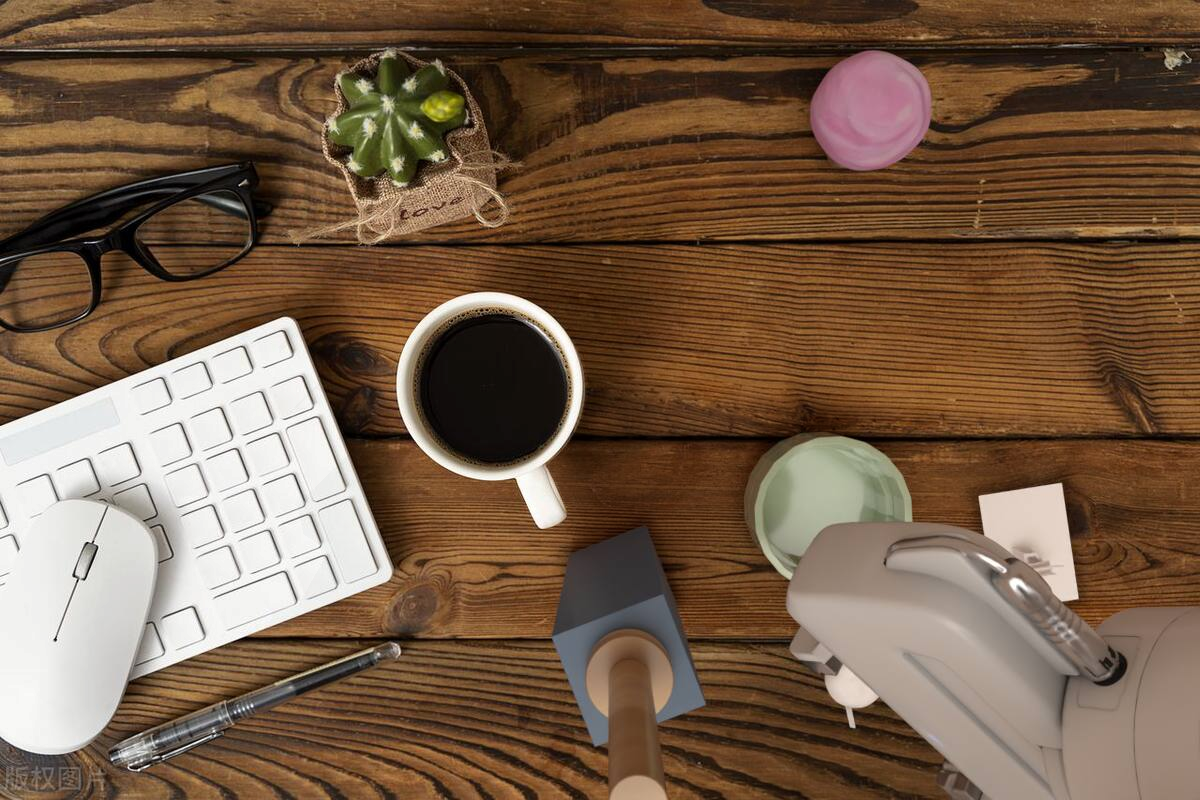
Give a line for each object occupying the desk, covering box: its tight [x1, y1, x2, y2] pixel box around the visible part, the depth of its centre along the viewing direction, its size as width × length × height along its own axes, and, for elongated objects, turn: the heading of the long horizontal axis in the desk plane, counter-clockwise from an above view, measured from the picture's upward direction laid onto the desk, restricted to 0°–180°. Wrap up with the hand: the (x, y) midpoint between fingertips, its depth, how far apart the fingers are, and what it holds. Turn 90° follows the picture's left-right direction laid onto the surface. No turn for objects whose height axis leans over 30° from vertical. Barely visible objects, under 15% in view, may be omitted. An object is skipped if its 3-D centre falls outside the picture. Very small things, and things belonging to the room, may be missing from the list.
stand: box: [551, 524, 707, 748], centre depth 61 cm, size 7×7×23 cm
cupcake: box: [809, 49, 932, 172], centre depth 67 cm, size 9×9×10 cm
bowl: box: [743, 431, 913, 581], centre depth 69 cm, size 12×12×6 cm
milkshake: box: [820, 664, 880, 729], centre depth 68 cm, size 5×5×10 cm
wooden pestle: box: [585, 629, 674, 800], centre depth 42 cm, size 5×5×16 cm
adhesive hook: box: [1012, 547, 1065, 581], centre depth 71 cm, size 3×3×3 cm
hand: (880, 712), depth 37 cm, fingers open, 8 cm apart
